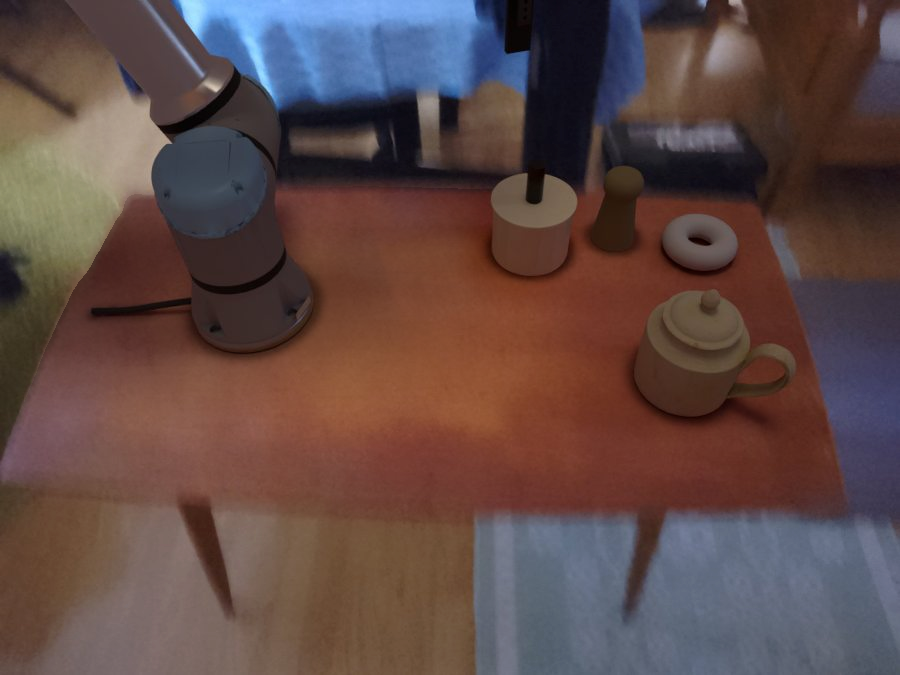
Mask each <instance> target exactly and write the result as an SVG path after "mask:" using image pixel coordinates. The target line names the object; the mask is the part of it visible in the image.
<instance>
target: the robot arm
mask: <svg viewBox="0 0 900 675" xmlns="http://www.w3.org/2000/svg"><path fill="white" fill-rule="evenodd" d="M64 1H65V3H67V5H68V6H69V7H70V8H71V10H72V11H73V12H74V13H75V14H76V15H77V16H78V17H79V19H80V20H81V21H82V22H83V23H84V24H85V25H86V27H87V28H88V29H89V30H90V31H91V32H92V33H93V35H94V36H95V37H96V38H97V40H99V42H100V43H101V44H102V46H104V48H106V50H108V52H109V53H110V54H111V55H112V56H113V58H114V59H115V60H116V61H117V62H118V63H119V64H120V66H121V67H122V68H123V69H124V70H125V72H126V73H127V74H128V75H129V76H130V77H131V78H132V80H133V81H134V82H135V84H137V85H138V86H139V87H140V89H141V90H142V91H143V92H144V93H145V94H146V96H147V97H148V98H149V100H150V103H149V119H150V120H151V121H152V122H153V124H154V125H155V126H156V127H157V128H158V130H160V132H161V133H162V134H163V135H164V136H165V137H166V138H167V140H169V142H170V143H166V144H164V145H163V146H162V148H161V149H160V150H159V151H158V153H157V154H156V156H155V158H154V160H153V163H152V165H151V166H152V167H151V170H150V171H151V172H150V180H151V185H152V189H153V194H154V198H155V200H156V205H157V208H158V210H159V212H160V214H161V215H162V216H163V219H164V220H165V222H166V225H167V227H168V229H169V231H170V234H171V236H172V239H173V240H174V242H175V245H176V247H177V249H178V251H179V253H180V255H181V258H182V260H183V263H184V265H185V267H186V269H187V271H188V273H189V275H190V278H191V290H190V291H191V294H190V295H191V296H190V297H184V298H177V299H176V298H175V299H170V300H169V299H168V300H162V301H156V302H149V303H144V304H137V305H131V306H119V307H117V306H116V307H92V308H91V309H90V314H91V315H92V316H96V315H97V316H99V315H101V316H102V315H104V316H105V315H125V314H126V315H127V314H134V313H135V314H136V313H142V312H148V311H153V310H161V309H167V308H175V307H181V306H188V305H190V310H191V317H192V320H193V323H194V325H195V327H196V329H197V331H198V333H199V334H200V336H201V337H202V339H203V340H205V341H206V343H208V344H210V345H211V346H213V347H215V348H216V349H220V350H222V351H226V352H230V353H231V352H232V353H240V354H242V353H244V354H245V353H255V352H261V351H264V350H268V349H271V348H275V347H276V346H279V345H280V344H283V343H285V342H286V341H288V340H289V339H291V338H292V337H294V336H295V335H296V334H297V333H298V332H299V331H301V330H302V328H303V327H304V326H305V325H306V323H308V320H309V319H310V317H311V315H312V312H313V309H314V302H315V301H314V300H315V299H314V293H313V288H312V285H311V282H310V279H309V278H308V276H307V275H306V273H305V272H304V271H303V269H302V268H301V267H300V265H299V264H298V263H297V262H296V260H295V259H294V258H293V257H292V255H291V254H290V253H289V251H288V250H287V249H286V245H285V241H284V238H283V233H282V229H281V227H280V223H279V219H278V215H277V210H276V186H277V177H278V168H279V167H278V166H279V165H278V164H279V155H280V144H281V139H282V126H281V121H280V114H279V111H278V107H277V105H276V102H275V100H274V98H273V97H272V95H271V94H270V92H269V91H268V89H267V87H265V86H264V84H262V83H261V82H259V80H257V79H256V78H254V77H253V76H251V75H250V74H247V73H246V74H243V73H241V72H240V71H239V70H238V69H237V67H236V66H235V65H234V63H233V62H232V61H231V59H230V58H227V57H225V56H219V55H216V54H215V55H214V54H211V53H210V52H209V51H208V49H207V48H206V46H204V44H203V43H202V41H201V39H199V38H198V36H197V35H196V34H195V32H194V31H193V29H192V28H191V26H189V24H188V23H187V21H186V20H185V19H184V18H183V16H182V15H181V13H180V12H179V11H178V10H177V8H176V7H175V5H174V3H173V2H171V0H64ZM534 5H535V0H506V2H505V26H504V50H503V51H504V53H505V54H506V55H512V54H517V53H521V52H529V51H531V47H532V36H533V35H532V32H533V18H534Z"/></svg>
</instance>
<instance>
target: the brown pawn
mask: <svg viewBox="0 0 900 675" xmlns="http://www.w3.org/2000/svg"><path fill="white" fill-rule="evenodd" d="M602 187H603V192H604V196H603V197H602V198H603V199H602V201H601V203H600V206H599V209H598V212H597V215H596V218H595V220H594V224H593V226H592V229H591V232H590V240H591V241H592V243H593V244H594V245H595V247H598V248H599V249H601V250H604V251H606V252H612V253H613V252H614V253H616V252H624V251H626V250H629V248H631V247H632V246H633V244H634V240H635V226H636V215H637V214H636V212H637V199H638V198H639V197H640V196H641V194H642V192H643V190H644V187H645V179H644V176H643V174H642V173H641V172H640V171H639V170H638V169H637V168H635V167H633V166H629V165H618V166H614V167H612V168H611V169H610V170H608V171H607V173H606V174H605V175H604V178H603V183H602Z"/></svg>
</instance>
